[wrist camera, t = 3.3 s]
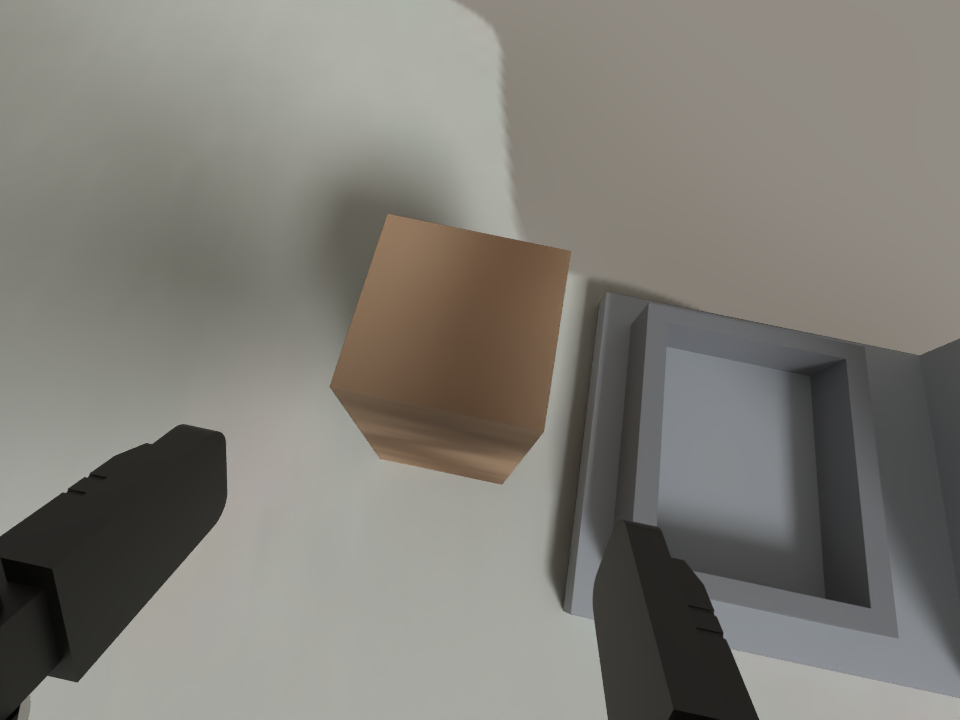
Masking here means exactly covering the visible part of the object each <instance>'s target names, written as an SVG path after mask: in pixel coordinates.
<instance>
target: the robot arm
mask: <svg viewBox="0 0 960 720" xmlns="http://www.w3.org/2000/svg"><path fill="white" fill-rule="evenodd" d="M226 499H227V467H226V440H225V437H224V435H223V434H222V433H221V432H218V431H213V430H209V429H204V428H199V427H195V426H190V425H185V424H182V425H178V426H176V427H175V428H173V429H172V430H171V431H169V432H168V433H167V434H165V435H164V436H163V437H161V438H160V439H159V440H157V441H156V442H155V443H153V444H148V443H145V444H143V445H140V446H138V447H136V448H133V449H131V450H128V451H126V452H123V453H121V454H118V455H116V456H114V457H112V458H111V459H110V460H108V461H107V462H105V463H104V464H103V465H101V466H100V467H98V468H97V469H95V470H94V471H93V472H91V473H90V475H89V477H88V478H86V477H84V478H83V479H81V480H80V481H78V482H77V483H76V484H74V485H73V486H71V487H70V488H68V491H67V493H61V494H60V495H59V496H57V497H56V498H54V499H53V500H51V501H50V502H49V503H47V504H46V505H44V506H43V507H41V508H40V509H39V510H37V511H36V512H34V513H33V514H32V515H30V516H29V517H27V518H26V519H24V520H23V521H22V522H20V523H19V524H17V525H16V526H14V527H13V528H12V529H10V530H9V531H7V532H6V533H5V534H3V535H2V536H0V720H28V718H29V713H30V705H31V701H30V696H29V694H30V693H31V692H32V691H33V690H34V689H35V688H36V687H37V686H38V685H39V684H40V683H41V682H42V681H43V680H44V679H45V678H46V676H51V677H56V678H60V679H65V680H69V681H73V682H78V681H79V680H80V679H81V678H82V677H83V676H84V674H85V673H86V672H87V671H88V670H89V669H90V668H91V666H92V665H93V664H94V663H95V662H96V661H97V660H98V658H99V657H100V656H101V655H102V654H103V653H104V652H105V650H106V649H107V648H108V647H109V646H110V645H111V644H112V642H113V641H114V640H115V639H116V638H117V637H118V635H119V634H120V633H121V632H122V631H123V630H124V629H125V627H126V626H127V625H128V624H129V623H130V622H131V621H132V619H133V618H134V617H135V616H136V615H137V614H138V613H139V611H140V610H141V609H142V608H143V607H144V606H145V605H146V603H147V602H148V601H149V600H150V599H151V598H152V597H153V595H154V594H155V593H156V592H157V591H158V590H159V589H160V587H161V586H162V585H163V584H164V583H165V582H166V580H167V579H168V578H169V577H170V576H171V575H172V574H173V572H174V571H175V570H176V569H177V568H178V567H179V566H180V564H181V563H182V562H183V561H184V560H185V559H186V558H187V556H188V555H189V554H190V553H191V552H192V551H193V550H194V548H195V547H196V546H197V545H198V544H199V543H200V542H201V540H202V539H203V538H204V537H205V536H206V535H207V534H208V532H209V531H210V530H211V529H212V528H213V527H214V525H215V524H216V523H217V521H218V520H219V518H220V516H221V514H222V512H223V509H224V507H225V504H226ZM593 614H594V621H595V628H596V636H597V643H598V650H599V657H600V665H601V672H602V679H603V686H604V694H605V701H606V708H607V715H608V720H759V718H758V716H757V713H756V711H755V708H754V706H753V704H752V701H751V699H750V696H749V694H748V691H747V689H746V686H745V684H744V682H743V679H742V677H741V674H740V672H739V669H738V667H737V664H736V662H735V660H734V657H733V655H732V652H731V650H730V647H729V645H728V642H727V640H726V639H724V638H723V634H724V633H723V630H722V628H721V625H720V623H719V620H718V618H717V616H714V608H713V606H712V603H711V601H710V598H709V596H708V593H707V591H706V589H705V586H704V584H703V583H702V582H701V580H700V579H699V578H698V577H697V576H696V574H695V573H694V572H693V571H692V569H691V568H690V567H689V566H688V564H687V563H686V562H685V561H684V560H681V559H676V558H672V557H671V556H670V553H669V550H668V547H667V544H666V541H665V539H664V536H663V533H662V531H661V529H660V528H659V527H657V526H652V525H647V524H643V523H638V522H633V521H629V520H624V519H619V520H618V521H617V522H616V524H615V526H614V528H613V531H612V534H611V536H610V539H609V542H608V544H607V547H606V550H605V552H604V555H603V558H602V560H601V563H600V566H599V568H598V571H597V574H596V577H595V581H594V587H593Z"/></svg>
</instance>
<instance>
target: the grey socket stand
mask: <svg viewBox="0 0 960 720" xmlns="http://www.w3.org/2000/svg"><path fill="white" fill-rule="evenodd" d="M619 519H624V520H629V521H633V522H638V523H643V524H647V525H652V526H657V527H659V528H660V529H661V531H662V533H663V536H664V539H665V541H666V544H667V547H668V550H669V553H670V556H671V557H672V558H676V559H681V560H684V561H685V562H686V563H687V564H688V566H689V567H690V568H691V569H692V571H693V572H694V573H695V574H696V576H697V577H698V578H699V579H700V580H701V582H702V583H703V584H704V586H705V589H706V591H707V593H708V596H709V598H710V601H711V603H712V606H713V608H714V616H717V618H718V620H719V623H720V625H721V628H722V630H723V633H724V634H723V638H724V639H726V640H727V642H728V645H729V647H730V649H734V650H739V651H743V652H748V653H753V654H757V655H762V656H766V657H771V658H776V659H780V660H785V661H790V662H794V663H799V664H804V665H808V666H813V667H818V668H822V669H827V670H832V671H836V672H841V673H845V674H850V675H855V676H859V677H864V678H869V679H873V680H878V681H883V682H887V683H892V684H897V685H901V686H906V687H911V688H915V689H920V690H925V691H929V692H934V693H938V694H943V695H948V696H952V697H957V698H960V339H958V340H956V341H953V342H951V343H948V344H946V345H944V346H941V347H939V348H936V349H934V350H932V351H929V352H927V353H925V354H922V355H920V356H919V355H914V354H909V353H904V352H900V351H895V350H890V349H885V348H880V347H875V346H870V345H865V344H861V343H856V342H851V341H846V340H841V339H836V338H831V337H826V336H821V335H816V334H812V333H807V332H802V331H797V330H792V329H787V328H782V327H777V326H772V325H768V324H763V323H758V322H753V321H747V320H743V319H738V318H733V317H728V316H723V315H718V314H714V313H709V312H704V311H699V310H694V309H689V308H684V307H679V306H674V305H670V304H665V303H660V302H655V301H650V300H645V299H640V298H635V297H630V296H625V295H621V294H616V293H611V292H606V294H605V296H604V297H603V299H602V301H601V302H600V304H599V309H598V318H597V326H596V335H595V343H594V352H593V360H592V369H591V377H590V386H589V394H588V403H587V411H586V420H585V428H584V437H583V446H582V454H581V463H580V471H579V480H578V488H577V497H576V505H575V514H574V522H573V531H572V539H571V548H570V556H569V565H568V573H567V582H566V590H565V599H564V607H563V611H565V612H567V613H569V614H571V615H576V616H580V617H585V618H590V619H594V614H593V587H594V581H595V577H596V574H597V571H598V568H599V566H600V563H601V560H602V558H603V555H604V552H605V550H606V547H607V544H608V542H609V539H610V536H611V534H612V531H613V528H614V526H615V524H616V522H617V521H618V520H619Z"/></svg>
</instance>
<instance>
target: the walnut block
mask: <svg viewBox="0 0 960 720" xmlns="http://www.w3.org/2000/svg"><path fill="white" fill-rule="evenodd" d="M570 254H571V251H568V250H563V249H558V248H553V247H548V246H544V245H539V244H534V243H529V242H524V241H519V240H514V239H509V238H504V237H499V236H494V235H490V234H485V233H480V232H475V231H470V230H465V229H460V228H455V227H450V226H445V225H440V224H436V223H431V222H426V221H421V220H416V219H411V218H406V217H401V216H396V215H391V214H387V217H386V220H385V223H384V226H383V229H382V232H381V235H380V238H379V241H378V244H377V247H376V250H375V253H374V256H373V259H372V262H371V265H370V268H369V271H368V274H367V277H366V280H365V283H364V286H363V289H362V292H361V295H360V298H359V301H358V304H357V307H356V309H355V312H354V315H353V318H352V321H351V324H350V327H349V330H348V333H347V336H346V339H345V342H344V345H343V348H342V351H341V354H340V357H339V360H338V363H337V366H336V369H335V372H334V375H333V378H332V381H331V384H330V388H331V389H332V391H333V392H334V394H335V395H336V397H337V398H338V399H339V401H340V402H341V404H342V405H343V407H344V408H345V409H346V411H347V412H348V414H349V415H350V417H351V418H352V419H353V421H354V422H355V424H356V425H357V427H358V428H359V429H360V431H361V432H362V434H363V435H364V437H365V438H366V439H367V441H368V442H369V444H370V445H371V447H372V448H373V449H374V451H375V452H376V454H377V455H378V456H379V458H380V459H384V460H389V461H394V462H398V463H403V464H408V465H412V466H417V467H422V468H427V469H431V470H436V471H441V472H446V473H450V474H455V475H460V476H464V477H469V478H474V479H479V480H483V481H488V482H493V483H498V484H503V483H504V481H505V480H506V479H507V478H508V476H509V475H510V474H511V473H512V471H513V470H514V469H515V468H516V466H517V465H518V464H519V462H520V461H521V460H522V459H523V457H524V456H525V455H526V454H527V452H528V451H529V450H530V449H531V447H532V446H533V445H534V444H535V442H536V441H537V440H538V438H539V437H540V436H541V435H542V433H543V432H544V428H545V421H546V414H547V408H548V401H549V394H550V388H551V381H552V374H553V368H554V361H555V354H556V347H557V341H558V334H559V327H560V321H561V314H562V307H563V301H564V294H565V287H566V281H567V274H568V267H569V260H570Z"/></svg>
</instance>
